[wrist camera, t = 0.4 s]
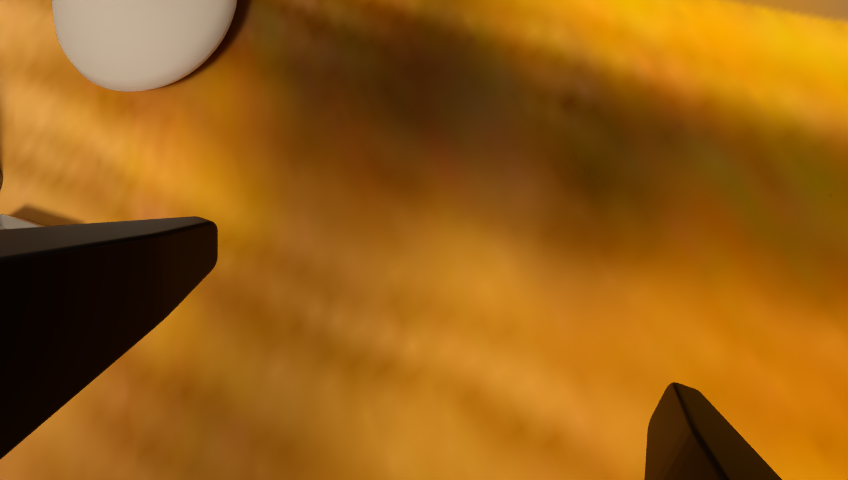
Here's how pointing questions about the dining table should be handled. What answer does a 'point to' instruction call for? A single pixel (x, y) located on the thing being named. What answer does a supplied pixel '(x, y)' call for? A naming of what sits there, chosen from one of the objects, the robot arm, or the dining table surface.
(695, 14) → the dining table surface
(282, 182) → the dining table surface
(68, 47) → the flower in vase
